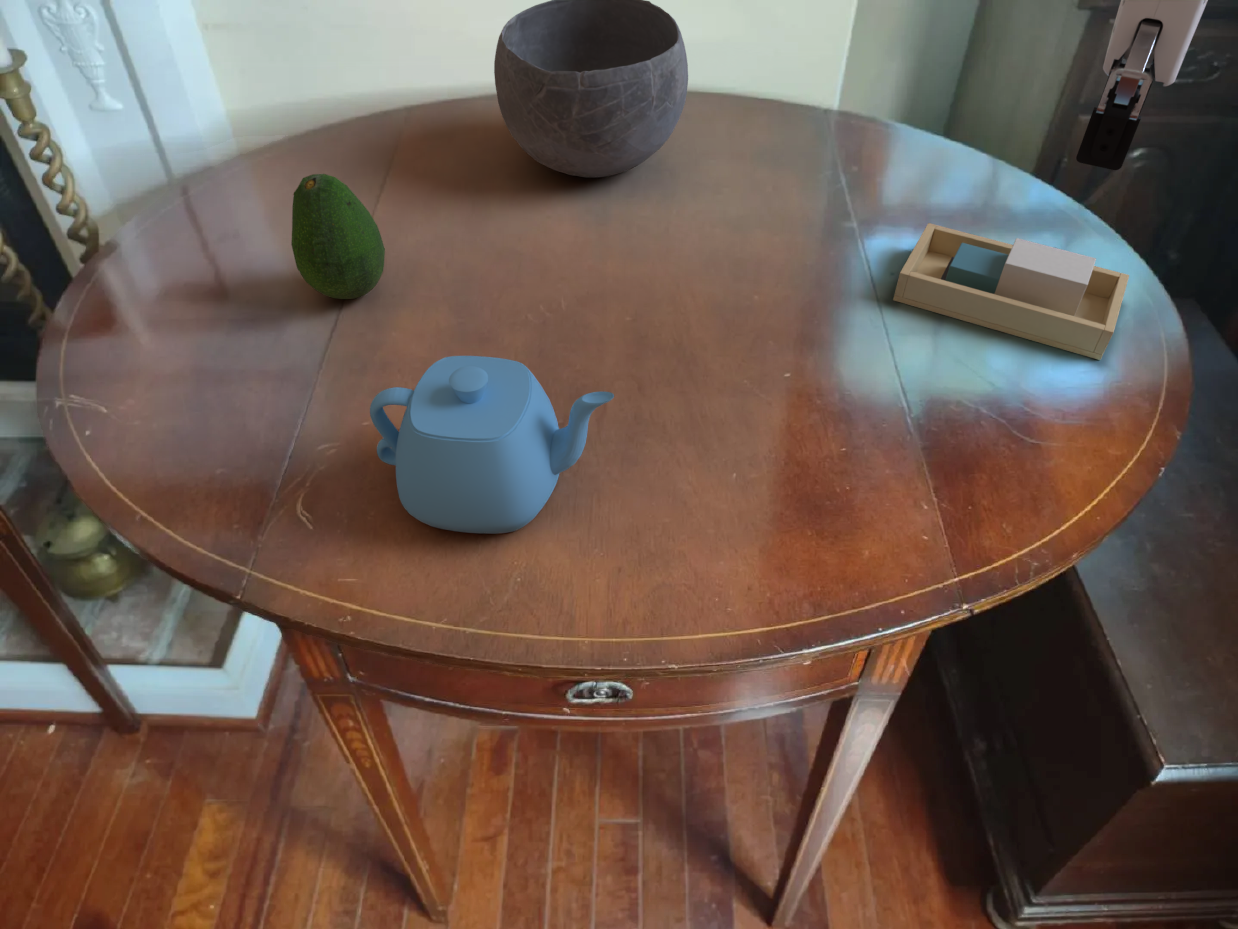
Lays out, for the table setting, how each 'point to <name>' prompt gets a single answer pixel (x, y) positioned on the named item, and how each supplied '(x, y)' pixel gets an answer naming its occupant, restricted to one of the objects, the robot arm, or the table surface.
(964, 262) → the two-tone stepped block
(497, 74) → the bowl
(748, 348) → the table surface
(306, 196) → the fruit
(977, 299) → the wooden tray
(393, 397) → the teapot
